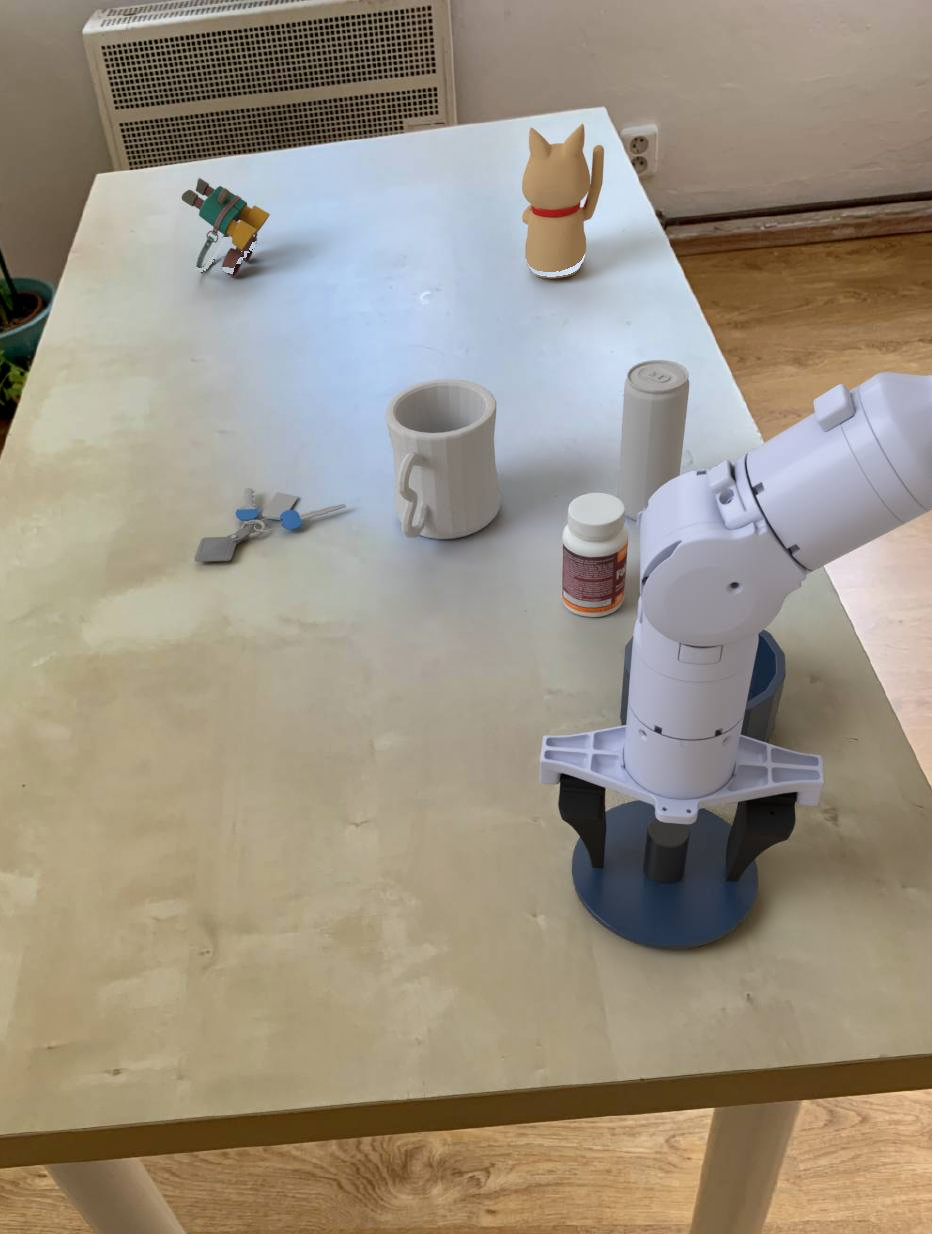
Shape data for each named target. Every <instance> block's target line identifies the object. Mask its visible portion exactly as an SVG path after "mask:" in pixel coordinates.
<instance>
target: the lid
mask: <svg viewBox="0 0 932 1234" xmlns="http://www.w3.org/2000/svg"><path fill="white" fill-rule="evenodd" d="M731 827H732V825H731V824H730V823H729V822H727V821H726V820H725V819H724V818H722V817H721V816H719V815H717V814H716V813H714V812H712V811H710V810H708V809H706V808H702V809H699V810H698V815H697V819H696V821H695V822H694V823H692V824H676V823H665V822H661V821H659V820H658V819H657V818H656V815H655V807H654V806H653V805H651V804H649V803H646V802H643V801H640V800H638V799H636V800H632V801H629V802H625V803H621V804H619V805H617V806H614V807H611V808H610V809H608V810H606V841H605V853H604V865H603V869H600V868H593V867H592V866H591V860H590V857H589V854H588V851H587V849H586V847H585V845H584V843H583V841H582V839H581V838H580V836H579V837H578V839H577V841H576V843H575V847H574V849H573V854H572V859H571V876H572V877H571V878H572V884H573V886H574V889H575V892H576V895H577V896H578V899H579V901H580V903H581V904H582V905H583V907H584V908H585V910H586V911H587V913H589V914H590V916H591V917H592V918H593V919H594V920H595V921H597V923H599V924H600V926H602V927H603V928H605V929H606V930H608V931H610V932H611V933H612V934H614V935H615V936H618V937H620V938H621V939H624V940H626V941H629V942H631V943H634V944H637V945H641V946H643V947H648V948H654V949H659V950H661V949H662V950H687V949H692V948H698V947H701V946H705V945H708V944H710V943H713V942H716V941H718V940H720V939H722V938H723V937H726V936H727V935H729V934H730V933H732V932H733V931H734V930H735V929H736V928H737V927H739V926H740V924H742V922H743V921H744V920H745V919H746V917H747V916H748V915H749V913H750V911H751V910H752V908H753V905H754V904H755V901H756V896H757V893H758V887H759V870H758V866H757V865H758V864H757V862H756V859H755V860H754V861H753V862H752V863H751V864H750V865H749V866H748V868H747V869H746V870H745V871H744V873H743V874H742V876H741V877H740V879H739V881H737V882H732V881H726V849H727V842H728V837H729V834H730V831H731Z"/></svg>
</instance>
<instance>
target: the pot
mask: <svg viewBox="0 0 932 1234" xmlns="http://www.w3.org/2000/svg"><path fill="white" fill-rule="evenodd" d="M758 637H759V641H758V647H757V652H756V657H755V662H754V667H753V672H752V677H751V682H750V687H749V693H748V698H747V703H746V708H745V714H744V719H743V724H742V729H741V734H740V735H744V736H747V737H750V738H753V739H756V740H759V741H762V742H765V743H768V742H769V740H770V738H771V736H772V733H773V732H774V729H775V725H776V720H777V716H778V711H779V707H780V703H781V698H782V693H783V690H784V689H783V688H784V685H785V680H786V677H787V671H786V655H785V652H784V650H783V649H782V648H781V647H780V645H779V643H778V642H777V640H776V639H775V637H774V636H773V634H772V633H771V632H769V631H767V630H766V629H764V630H763V631H761V632H760V633H758ZM632 646H633V635H632V636H631V638H630V639H629V641H628V642H627V643H626V645H625V648H624V650H625V651H624V662H623V674H622V688H621V701H620V712H619V713H620V714H619V718H620V723H621V726H623V725H626V721H627V709H628V697H629V683H630V671H631V658H632Z"/></svg>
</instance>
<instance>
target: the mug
mask: <svg viewBox="0 0 932 1234" xmlns="http://www.w3.org/2000/svg"><path fill="white" fill-rule="evenodd" d="M384 418H385V422H386V428H387V431H388V436H389V438H390V443H391V447H392V458H393V467H394V468H393V469H394V497H393V498H394V511H395V514H396V517H397V519H398V521H399V522H400V529H401V531H402V532H403V534H404V535H405V536H406V537H407V538H411V539H412V538H417V537H418V536H420V537H424V538H428V539H435V540H452V539H458V538H462V537H467V536H470V535H472V534H475V533H477V532H479V531H481V530H482V529H484V528H485V527H487V526H488V525H489V524H490V523H491V522H492V521H493V520H494V519H495V518H496V517H497V515H498V513H499V511H500V508H501V503H502V502H501V501H502V500H501V499H502V498H501V497H502V496H501V495H502V493H501V487H500V482H499V474H498V470H497V465H496V449H495V430H496V419H497V399H496V398H495V396H494V394H493V393H492V392H491V391H490V390H488V389H487V388H486V387H485V386H484V385H483V386H482V385H481V384H479V383H477V382H474V381H469V380H464V379H454V378H444V379H443V378H441V379H433V380H428V381H423V382H420V383H417V384H414V385H411V386H408V387H406V388H405V389H404V390H401V391H399V392H398V393H397V394H396V395H395V396H394V397H392V399H391V400H390V402H389V403H388V405H387V406H386V408H385V415H384Z"/></svg>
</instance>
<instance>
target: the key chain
mask: <svg viewBox="0 0 932 1234" xmlns="http://www.w3.org/2000/svg"><path fill="white" fill-rule="evenodd" d="M254 493H255V490H254V489H253V488H251V487H247V488H244V489H243V503H242V505H243V506H241V507H239V508H236V510H235V516H236V519H238V520H239V521H241V522H243V523H242V525H241V526H240V528H239V529H238V530H237V531H235V532H234V533H231V534H229V535H227V536H211V537H210V536H209V537H202V538H201V539H200V541H199V545H198V547H197V550H196V553H195V555H194V562H197V563H200V562H201V563H202V562H203V563H204V562H230V561H231V560H232V558H233V555H234V553H235V548H236V546H237V545H238V544H239V543H241V542H242V541H245V540H247V539H249V538H256V537H259V536H261V535H262V534H263V533H265V532H271V531H274V530H276V529H278V528H280V527H282V528H284V529H286V530H287V531H296V530H299V528H300V527H301V526H302V524H303V521H305V520H309V519H312V518H314V517H317V516H319V517H320V516H323V515H326V514H329V513H332V512H335V511H339V510H342V509H345V508H346V507H347V506H346V503H341V504H340V503H339V504H335V505H330V506H326V507H323V508H321V509H316V510H311V511H310V512H306V513H303V514H302V513H301V514H300V513H299V512H298V511H297V510H294V509H292V507H294V505H295V503H296V502H297V500H298V499H299V496H298V495H293V494H288V493H283V492H278V491H277V492H276V493H275V494H274V496H273V498H272V499H271V500H270V502H269V503H268V504H267V505H266V507H265V508H264V510H263V511H262V513H261V516H262V517H263V518H262V519H258V517H259V515H260V510H259V508H258V507H257V508H256V503H255V501H256V497H255V494H254ZM269 519H271V520H275V521H276V520H277V521H279V525H277V526H275V527H272V528H269V529H267V525H266V523H265V522H264V521H266V520H269ZM257 525H260V526H261V529H257V528H256V527H257ZM248 526H253V530H255V531H256V532H253V533H251V532H250V531H249V530H248V529H246V527H248Z"/></svg>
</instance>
